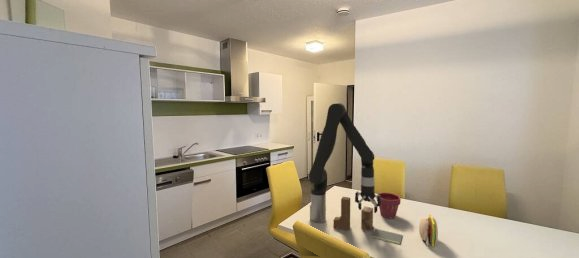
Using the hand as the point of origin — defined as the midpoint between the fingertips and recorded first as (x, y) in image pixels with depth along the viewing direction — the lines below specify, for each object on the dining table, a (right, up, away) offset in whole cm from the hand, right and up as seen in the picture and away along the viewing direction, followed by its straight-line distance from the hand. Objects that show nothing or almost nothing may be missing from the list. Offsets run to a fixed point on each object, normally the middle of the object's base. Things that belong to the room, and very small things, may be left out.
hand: (367, 211), depth 141 cm
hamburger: (+28, -11, -13) cm, 32 cm away
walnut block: (0, -10, +1) cm, 10 cm away
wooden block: (-15, -10, +2) cm, 18 cm away
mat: (+8, -11, -9) cm, 16 cm away
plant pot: (+19, -9, +17) cm, 27 cm away
